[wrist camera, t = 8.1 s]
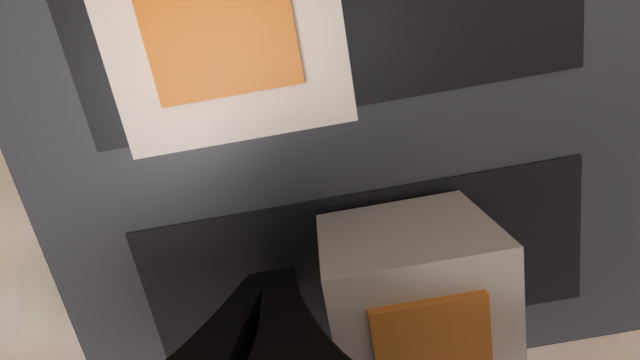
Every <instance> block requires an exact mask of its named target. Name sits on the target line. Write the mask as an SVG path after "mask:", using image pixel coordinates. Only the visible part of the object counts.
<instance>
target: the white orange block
mask: <svg viewBox="0 0 640 360" xmlns="http://www.w3.org/2000/svg"><path fill="white" fill-rule="evenodd" d="M316 222H317V235H318V249H319V262H320V275H321V284H322V289H323V294H324V300H325V305H326V310H327V315H328V320H329V326H330V331H331V336H332V341H333V342H334V343H335V344H336V345H337V346H338V347H339V348H340V349H341V350H342V351H343V352H344V353H345V354H346V355H348V356H349V357H350V358H351V359H352V360H527V353H526V317H525V280H524V247H523V246H522V245H521V244H520V243H519V242H517V241H516V240H515V239H514V238H513V237H512V236H511V235H510V234H508V233H507V232H506V231H505V230H504V229H503V228H502V227H500V226H499V225H498V224H497V223H496V222H495V221H494V220H492V219H491V218H490V217H489V216H488V215H487V214H486V213H484V212H483V211H482V210H481V209H480V208H479V207H478V206H477V205H475V204H474V203H473V202H472V201H471V200H470V199H469V198H467V197H466V196H465V195H464V194H463V193H462V192H461V191H459V190H458V191H453V192H447V193H441V194H435V195H429V196H424V197H418V198H412V199H406V200H401V201H395V202H389V203H383V204H377V205H372V206H366V207H360V208H354V209H348V210H343V211H337V212H331V213H325V214H319V215H316Z"/></svg>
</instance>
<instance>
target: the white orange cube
mask: <svg viewBox="0 0 640 360" xmlns="http://www.w3.org/2000/svg"><path fill="white" fill-rule="evenodd" d="M84 3H85V6H86V9H87V12H88V16H89V19H90V22H91V25H92V28H93V32H94V35H95V38H96V41H97V44H98V48H99V51H100V54H101V57H102V60H103V64H104V67H105V70H106V73H107V76H108V80H109V83H110V86H111V89H112V92H113V96H114V99H115V102H116V105H117V108H118V112H119V115H120V118H121V121H122V124H123V128H124V131H125V134H126V137H127V140H128V144H129V147H130V150H131V153H132V156H133V160H136V159H142V158H147V157H153V156H159V155H164V154H170V153H176V152H181V151H187V150H193V149H199V148H204V147H210V146H216V145H221V144H227V143H233V142H238V141H244V140H250V139H256V138H261V137H267V136H273V135H278V134H284V133H290V132H295V131H301V130H307V129H312V128H318V127H324V126H330V125H335V124H341V123H347V122H352V121H358V116H357V109H356V102H355V95H354V88H353V81H352V74H351V67H350V60H349V53H348V46H347V39H346V32H345V25H344V18H343V11H342V4H341V0H84Z"/></svg>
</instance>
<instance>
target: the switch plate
mask: <svg viewBox="0 0 640 360" xmlns="http://www.w3.org/2000/svg"><path fill="white" fill-rule="evenodd" d="M341 4H342V11H343V18H344V25H345V32H346V39H347V46H348V53H349V60H350V67H351V74H352V81H353V88H354V95H355V102H356V109H357V116H358V121H352V122H347V123H341V124H335V125H330V126H324V127H318V128H312V129H307V130H301V131H295V132H290V133H284V134H278V135H273V136H267V137H261V138H256V139H250V140H244V141H238V142H233V143H227V144H221V145H216V146H210V147H204V148H199V149H193V150H187V151H181V152H176V153H170V154H164V155H159V156H153V157H147V158H142V159H136V160H133V156H132V153H131V150H130V147H129V144H128V140H127V137H126V134H125V131H124V128H123V124H122V121H121V118H120V115H119V112H118V108H117V105H116V102H115V99H114V96H113V92H112V89H111V86H110V83H109V80H108V76H107V73H106V70H105V67H104V64H103V60H102V57H101V54H100V51H99V48H98V44H97V41H96V38H95V35H94V32H93V28H92V25H91V22H90V19H89V16H88V12H87V9H86V6H85V3H84V0H0V148H1V151H2V153H3V156H4V158H5V161H6V163H7V166H8V168H9V171H10V173H11V175H12V178H13V180H14V183H15V185H16V188H17V190H18V193H19V195H20V198H21V200H22V203H23V205H24V207H25V210H26V212H27V215H28V217H29V220H30V222H31V225H32V227H33V230H34V232H35V234H36V237H37V239H38V242H39V244H40V247H41V249H42V252H43V254H44V257H45V259H46V262H47V264H48V266H49V269H50V271H51V274H52V276H53V279H54V281H55V284H56V286H57V289H58V291H59V293H60V296H61V298H62V301H63V303H64V306H65V308H66V311H67V313H68V316H69V318H70V321H71V323H72V325H73V328H74V330H75V333H76V335H77V338H78V340H79V343H80V345H81V348H82V350H83V352H84V355H85V357H86V360H165V359H166V358H168V357H169V356H170V355H171V354H172V353H174V352H175V351H176V350H177V349H178V348H179V347H181V346H182V345H183V344H184V343H185V342H186V341H187V340H188V339H189V338H190V337H191V336H192V335H193V334H194V333H195V332H196V331H197V330H198V329H199V328H200V327H201V326H202V325H203V324H204V323H205V322H206V321H207V320H208V319H209V318H210V317H211V316H212V315H213V314H214V313H215V312H216V311H217V310H218V309H219V308H220V306H221V305H222V304H223V303H224V302H225V301H226V300H227V299H228V297H229V296H230V295H231V294H232V293H233V292H234V291H235V289H236V288H237V287H238V286H239V285H240V284H241V282H242V281H243V280H244V279H245V278H246V277H247V276H248V275H249V274H252V273H258V272H264V271H270V270H276V269H282V268H287V267H292V268H293V269H294V270H296V275H297V280H298V284H299V289H300V294H301V296H302V298H303V299H304V301H305V303H306V305H307V307H308V309H309V310H310V312H311V313H312V315H313V316H314V318H315V319H316V321H317V322H318V324H319V325H320V326H321V328H322V329H323V330H324V332H325V333H326V334H327V335H328V336H329V337H330V339H331V340H332V336H331V331H330V326H329V320H328V315H327V310H326V305H325V300H324V294H323V289H322V284H321V275H320V262H319V249H318V235H317V222H316V215H319V214H325V213H331V212H337V211H343V210H348V209H354V208H360V207H366V206H372V205H377V204H383V203H389V202H395V201H401V200H406V199H412V198H418V197H424V196H429V195H435V194H441V193H447V192H453V191H458V190H459V191H461V192H462V193H463V194H464V195H465V196H466V197H467V198H469V199H470V200H471V201H472V202H473V203H474V204H475V205H477V206H478V207H479V208H480V209H481V210H482V211H483V212H484V213H486V214H487V215H488V216H489V217H490V218H491V219H492V220H494V221H495V222H496V223H497V224H498V225H499V226H500V227H502V228H503V229H504V230H505V231H506V232H507V233H508V234H510V235H511V236H512V237H513V238H514V239H515V240H516V241H517V242H519V243H520V244H521V245H522V246H523V247H524V280H525V317H526V348H532V347H538V346H544V345H550V344H556V343H562V342H568V341H574V340H580V339H586V338H592V337H598V336H604V335H610V334H616V333H622V332H628V331H634V330H640V0H341Z"/></svg>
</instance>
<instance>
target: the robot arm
mask: <svg viewBox="0 0 640 360" xmlns="http://www.w3.org/2000/svg"><path fill="white" fill-rule="evenodd" d="M165 360H352V359H351V358H350V357H349V356H348V355H346V354H345V353H344V352H343V351H342V350H341V349H340V348H339V347H338V346H337V345H336V344H335V343H334V342H333V341H332V340H331V339H330V337H329V336H328V335H327V334H326V333H325V332H324V330H323V329H322V328H321V326H320V325H319V324H318V322H317V321H316V319H315V318H314V316H313V315H312V313H311V312H310V310H309V309H308V307H307V305H306V303H305V301H304V299H303V298H302V296H301V294H300V289H299V284H298V280H297V275H296V270H294V269H293V268H292V267H287V268H282V269H276V270H270V271H264V272H258V273H252V274H249V275H248V276H247V277H246V278H245V279H244V280H243V281H242V282H241V284H240V285H239V286H238V287H237V288H236V289H235V291H234V292H233V293H232V294H231V295H230V296H229V297H228V299H227V300H226V301H225V302H224V303H223V304H222V305H221V306H220V308H219V309H218V310H217V311H216V312H215V313H214V314H213V315H212V316H211V317H210V318H209V319H208V320H207V321H206V322H205V323H204V324H203V325H202V326H201V327H200V328H199V329H198V330H197V331H196V332H195V333H194V334H193V335H192V336H191V337H190V338H189V339H188V340H187V341H186V342H185V343H184V344H183V345H182V346H181V347H179V348H178V349H177V350H176V351H175V352H174V353H172V354H171V355H170V356H169V357H168V358H166V359H165Z"/></svg>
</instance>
